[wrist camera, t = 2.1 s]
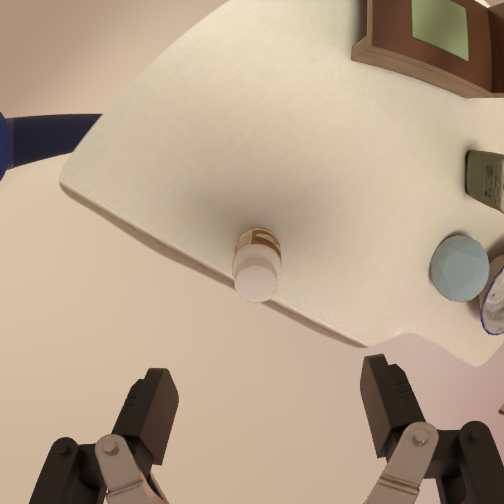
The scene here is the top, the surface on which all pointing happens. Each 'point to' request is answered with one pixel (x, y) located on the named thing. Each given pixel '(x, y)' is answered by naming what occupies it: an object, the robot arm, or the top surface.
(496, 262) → the bowl
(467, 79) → the shelf
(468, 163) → the beige rounded block
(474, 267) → the gemstone
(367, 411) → the robot arm
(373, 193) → the top surface
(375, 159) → the top surface
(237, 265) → the pill bottle
